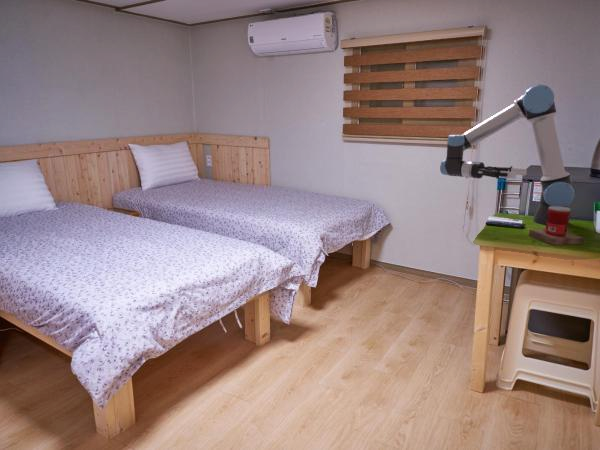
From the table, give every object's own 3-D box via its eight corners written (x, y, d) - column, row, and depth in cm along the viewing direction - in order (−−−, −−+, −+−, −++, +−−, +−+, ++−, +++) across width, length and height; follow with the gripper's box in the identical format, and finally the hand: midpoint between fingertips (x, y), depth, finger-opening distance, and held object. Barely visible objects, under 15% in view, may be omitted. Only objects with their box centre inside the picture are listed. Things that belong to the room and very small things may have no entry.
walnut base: (557, 234, 199) (558, 228, 198) (582, 243, 186) (583, 237, 185) (528, 235, 196) (529, 230, 195) (552, 245, 183) (553, 239, 182)
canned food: (569, 237, 186) (573, 210, 183) (547, 235, 187) (552, 209, 185) (562, 232, 193) (567, 206, 190) (542, 230, 195) (546, 205, 192)
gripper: (483, 175, 224) (529, 179, 210) (461, 180, 206) (510, 185, 192) (484, 159, 222) (531, 162, 208) (462, 164, 204) (512, 167, 190)
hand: (521, 173), depth 200 cm, fingers open, 13 cm apart
